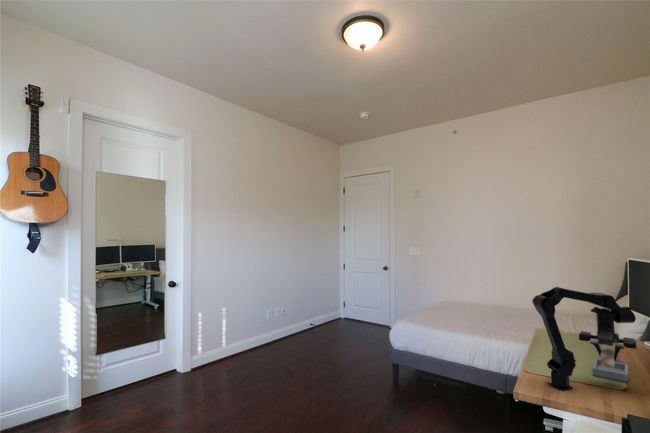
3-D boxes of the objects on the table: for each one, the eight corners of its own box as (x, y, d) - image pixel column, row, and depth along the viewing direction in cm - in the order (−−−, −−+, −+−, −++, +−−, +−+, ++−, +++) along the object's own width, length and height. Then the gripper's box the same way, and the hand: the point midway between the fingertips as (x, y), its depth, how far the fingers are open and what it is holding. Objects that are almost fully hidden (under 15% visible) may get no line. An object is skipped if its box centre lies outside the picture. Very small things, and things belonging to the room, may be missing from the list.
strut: (601, 366, 140) (600, 354, 140) (603, 357, 149) (602, 346, 149) (613, 368, 137) (613, 356, 138) (615, 359, 146) (614, 348, 146)
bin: (628, 383, 145) (627, 375, 145) (592, 376, 153) (592, 368, 153) (628, 371, 156) (627, 364, 156) (595, 365, 164) (594, 358, 164)
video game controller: (610, 361, 172) (602, 348, 174) (620, 358, 170) (611, 345, 172) (615, 368, 164) (606, 354, 166) (626, 365, 162) (616, 351, 164)
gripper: (576, 323, 144) (578, 360, 144) (635, 331, 132) (638, 371, 131) (579, 318, 153) (581, 352, 152) (634, 325, 140) (637, 362, 139)
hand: (608, 359), depth 143 cm, fingers closed on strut, 4 cm apart
